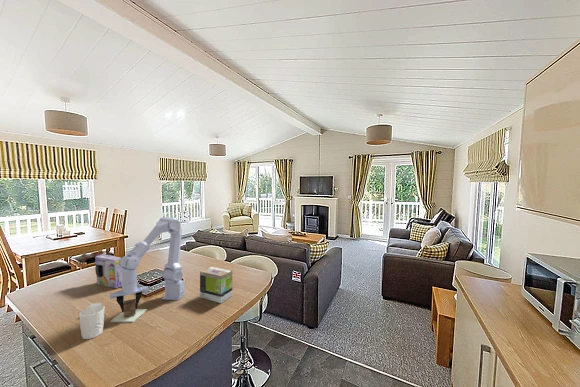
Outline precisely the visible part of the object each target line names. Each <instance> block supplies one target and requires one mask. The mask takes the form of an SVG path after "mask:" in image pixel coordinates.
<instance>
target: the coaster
mask: <svg viewBox="0 0 580 387" xmlns="http://www.w3.org/2000/svg"><path fill="white" fill-rule="evenodd" d="M147 311H148V309H147V308H137V309H136V314H135V315H130V316H126V317H124V312H122V311H121V313H119V314H118V315H117V316H115V317H114V318H112V319H111V320H110V322H111V323H133V324H134V323H135V321H137V320H138V319H139V318H140V317H141V316H143V314H145V313H146V312H147Z"/></svg>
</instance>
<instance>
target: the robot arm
mask: <svg viewBox="0 0 580 387" xmlns="http://www.w3.org/2000/svg"><path fill="white" fill-rule="evenodd" d="M181 225H182V224H181V221H180V220H179V219H178V218H175V217H173V218H172V217H167V216H162V217H160V218H159V219H158V221H157V222H156V223H155V226H154V227H153V228H152V229H151V231H150V232H149V233H148V235H147V236H146V237H145V238H144V240H142V241H139V242H138V243H135V245H134V247H133V248H132V249H131V250H130V251H129V252H127V254H126V255H124V256H123V257H121V258H122V259H121V260H120V262H119V265H120V267H121V268H122V287H121V290H118V291H116V292H115V291H114V292H111V293H110V294H109V300H112V299H115V298H116V302H117V304H118V305H119V307H120V309H121V313H122V312H124V301H125V300H124V298H125V297H126V296H131V295H135V299H136V306H135V310H136V309H138V305H139V302H140V300H141V298H142V296H143V293H149V292H148V291H149V290H148V286H141V287H139V286H137V285H138V275H137V274H138V273H137V272H138V269H137V268H138V267H139V265H140V263H141V260H142V258H144V255H145V254H146V253H147V252H148V251H149V250H150V245H151V244H153V242H154V241H155V240H157V238H158V237H159V236H160V235H161V234H162V233H163V234H164V233H167V232H168V233H169V234H170V239H169V250H168V258H167V263H166V264H164V268H163V271H162V272H161V276H162V278H163V279H164V296H162V298H161V300H165V301H168V300H173V301H179V300H180V299H182V297H184V295H186V284H185V283H186V282H185V280H182V278H183V276H184V275H183V274H184V273H183V270H182V269H183V268H182V265H181V264H180V254H181V243H182V235H183V229H182V226H181Z"/></svg>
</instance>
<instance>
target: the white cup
mask: <svg viewBox="0 0 580 387" xmlns="http://www.w3.org/2000/svg"><path fill="white" fill-rule="evenodd" d="M104 306H105V305H104ZM104 306H93V307H89V306H88V307H89V308H88V307H87V308H84V309H82V310H81V311H80V312H79V313H78V315H79V316H78V317H79V326H80V334H81V336H80V337H81V338H82V339H83V340H90V339H94V338H97V337H99V336H100V335H101V334H103V332H104V325H105V324H104V322H105V317H104Z"/></svg>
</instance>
